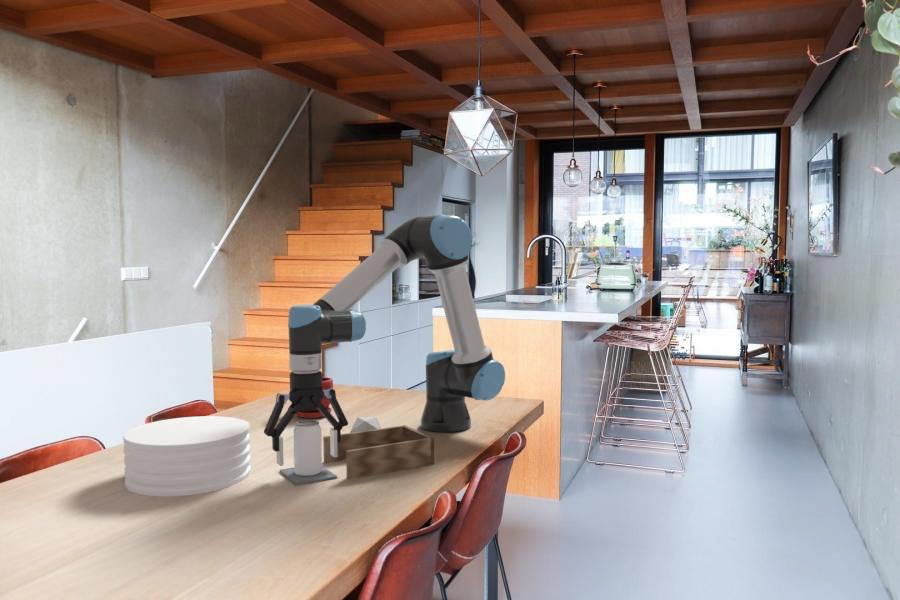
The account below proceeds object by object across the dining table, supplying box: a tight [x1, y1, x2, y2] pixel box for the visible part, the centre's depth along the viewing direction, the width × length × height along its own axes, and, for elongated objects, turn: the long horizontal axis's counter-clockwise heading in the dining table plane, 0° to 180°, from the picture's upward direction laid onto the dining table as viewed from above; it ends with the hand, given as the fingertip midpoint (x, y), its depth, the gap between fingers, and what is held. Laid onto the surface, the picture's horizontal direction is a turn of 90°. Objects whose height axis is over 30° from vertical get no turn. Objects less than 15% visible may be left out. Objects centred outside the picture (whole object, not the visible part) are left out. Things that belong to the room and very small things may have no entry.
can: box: [293, 419, 323, 476], centre depth 172 cm, size 6×6×12 cm
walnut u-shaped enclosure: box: [322, 424, 435, 480], centre depth 182 cm, size 23×16×6 cm
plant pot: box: [295, 376, 334, 419], centre depth 235 cm, size 13×13×12 cm
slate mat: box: [279, 465, 338, 486], centre depth 173 cm, size 10×12×1 cm
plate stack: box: [122, 415, 252, 497], centre depth 172 cm, size 28×28×12 cm
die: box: [349, 416, 382, 433], centre depth 196 cm, size 8×9×10 cm
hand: (307, 460), depth 172 cm, fingers open, 13 cm apart
